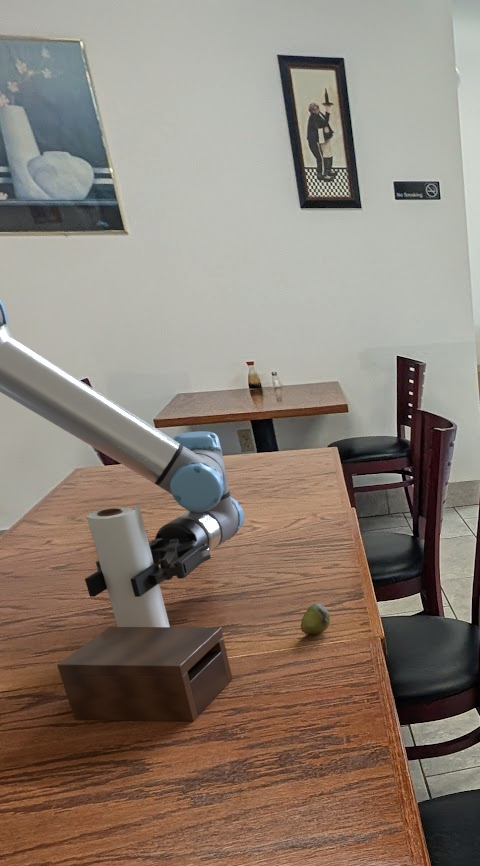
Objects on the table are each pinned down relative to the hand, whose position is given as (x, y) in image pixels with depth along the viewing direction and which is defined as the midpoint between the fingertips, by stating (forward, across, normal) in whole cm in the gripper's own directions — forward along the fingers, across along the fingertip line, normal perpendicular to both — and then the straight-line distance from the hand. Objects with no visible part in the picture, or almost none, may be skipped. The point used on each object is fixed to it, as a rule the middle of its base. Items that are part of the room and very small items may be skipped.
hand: (112, 587), depth 118 cm
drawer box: (+12, -10, -12) cm, 19 cm away
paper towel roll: (-5, 0, -12) cm, 13 cm away
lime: (-10, -25, -12) cm, 29 cm away
